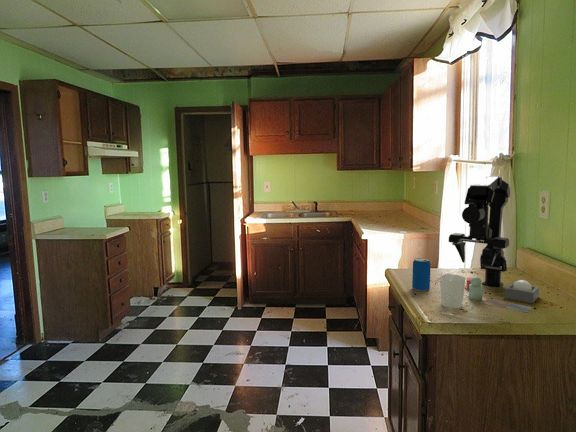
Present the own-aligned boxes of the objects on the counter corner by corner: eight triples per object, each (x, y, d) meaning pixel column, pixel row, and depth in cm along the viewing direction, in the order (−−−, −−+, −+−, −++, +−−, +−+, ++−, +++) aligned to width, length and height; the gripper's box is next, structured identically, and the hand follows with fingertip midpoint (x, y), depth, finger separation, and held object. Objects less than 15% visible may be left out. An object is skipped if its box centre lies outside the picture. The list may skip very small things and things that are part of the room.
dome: (514, 292, 153) (515, 277, 153) (532, 296, 149) (533, 279, 149) (510, 296, 149) (511, 280, 148) (529, 300, 145) (530, 283, 144)
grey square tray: (510, 292, 155) (511, 282, 155) (538, 297, 150) (539, 287, 149) (504, 298, 149) (505, 287, 148) (532, 304, 143) (533, 292, 142)
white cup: (461, 311, 137) (462, 281, 136) (436, 306, 141) (437, 278, 140) (465, 304, 144) (466, 276, 142) (442, 300, 148) (442, 273, 146)
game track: (468, 296, 152) (468, 295, 152) (532, 308, 139) (532, 307, 139) (462, 300, 147) (462, 299, 147) (527, 313, 134) (527, 312, 134)
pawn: (470, 296, 151) (471, 274, 150) (483, 298, 148) (484, 276, 147) (466, 299, 148) (467, 277, 147) (479, 302, 145) (481, 279, 144)
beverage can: (430, 292, 157) (431, 261, 155) (412, 291, 158) (413, 261, 157) (428, 287, 163) (429, 257, 162) (411, 287, 164) (412, 257, 163)
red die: (466, 287, 163) (466, 276, 162) (477, 288, 161) (478, 277, 161) (466, 290, 159) (467, 279, 159) (478, 291, 158) (478, 279, 157)
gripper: (514, 220, 144) (512, 264, 146) (459, 216, 156) (458, 256, 158) (505, 223, 136) (503, 270, 138) (448, 219, 148) (447, 262, 150)
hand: (476, 264), depth 146 cm, fingers open, 9 cm apart
